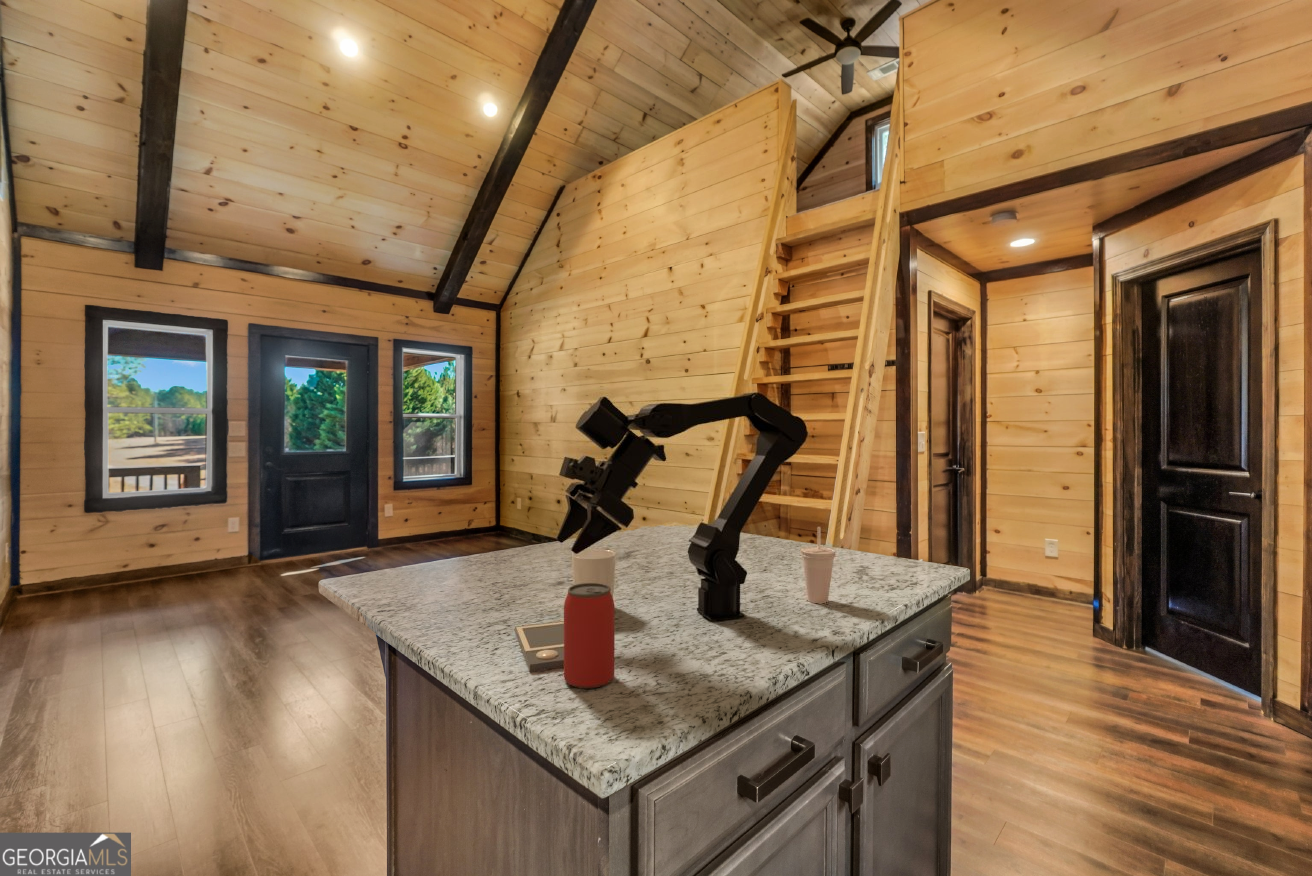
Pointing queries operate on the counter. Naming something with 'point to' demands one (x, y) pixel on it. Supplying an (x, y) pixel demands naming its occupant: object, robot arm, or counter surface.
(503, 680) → the counter surface
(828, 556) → the smoothie
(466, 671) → the counter surface
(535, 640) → the slate card
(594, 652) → the beer can
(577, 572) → the white cup
